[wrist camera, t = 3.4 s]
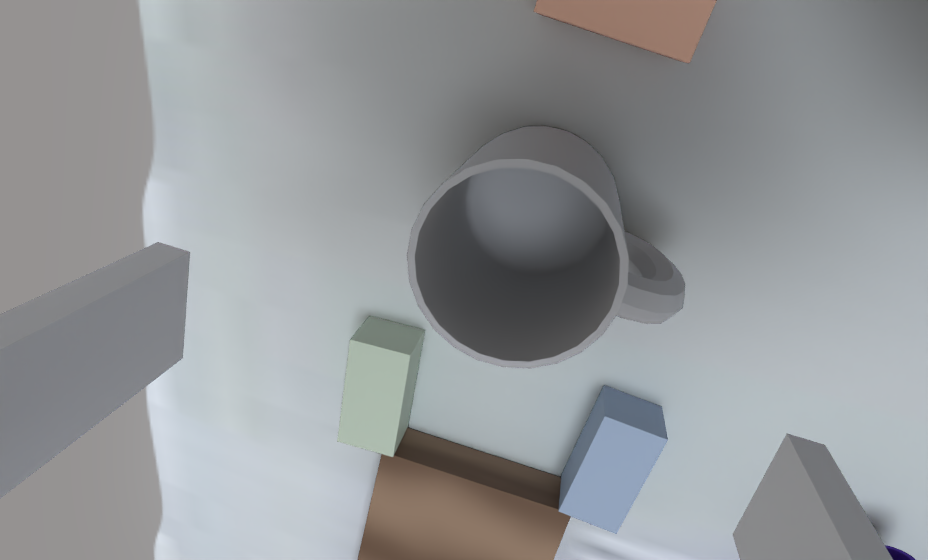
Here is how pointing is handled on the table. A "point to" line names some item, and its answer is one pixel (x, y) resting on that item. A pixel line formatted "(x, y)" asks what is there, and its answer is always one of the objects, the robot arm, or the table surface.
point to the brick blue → (612, 459)
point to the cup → (533, 253)
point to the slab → (460, 506)
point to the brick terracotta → (638, 22)
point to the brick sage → (379, 385)
